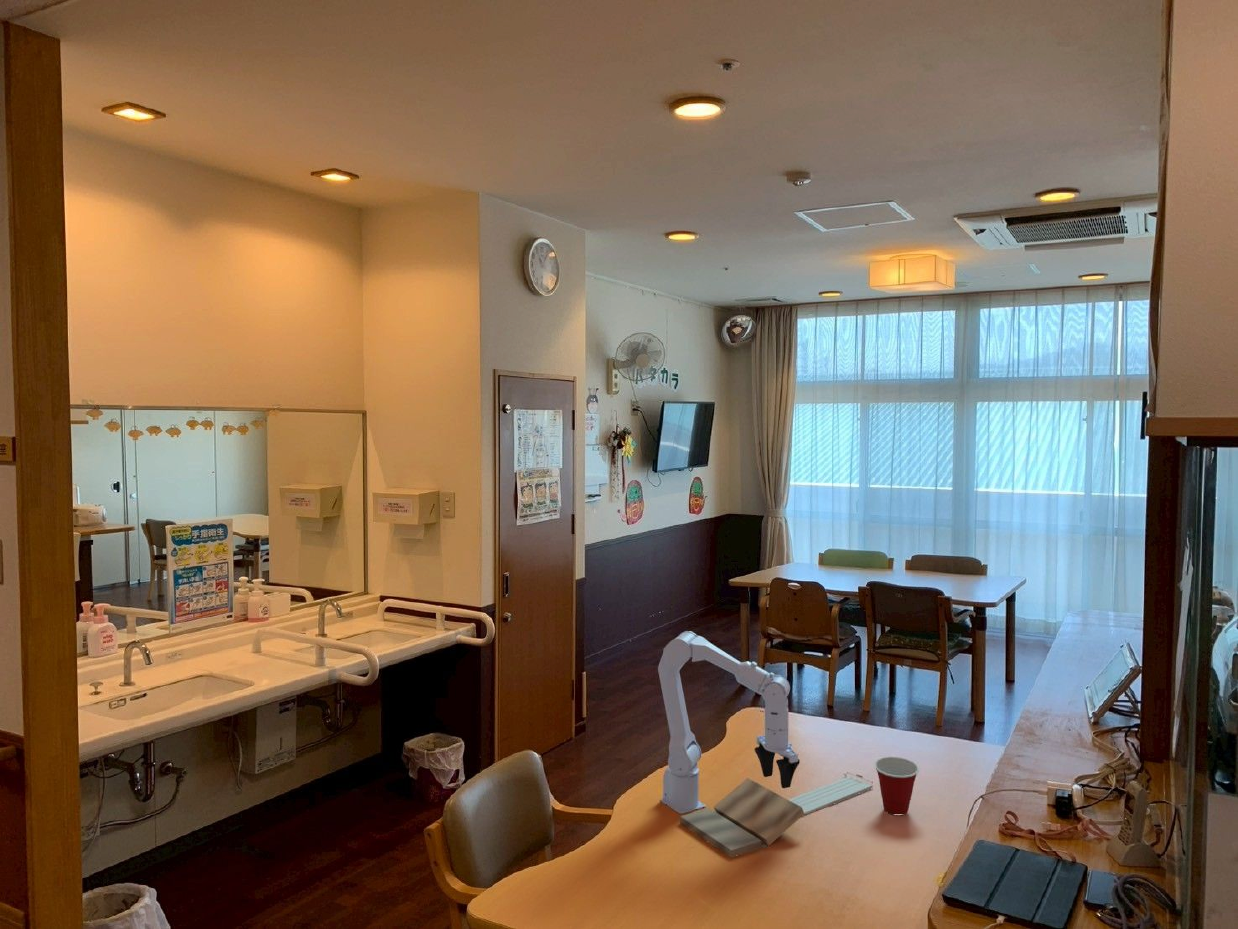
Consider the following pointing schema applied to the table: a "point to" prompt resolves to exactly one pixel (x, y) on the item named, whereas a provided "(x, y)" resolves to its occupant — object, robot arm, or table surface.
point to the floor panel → (721, 832)
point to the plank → (759, 811)
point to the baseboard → (830, 794)
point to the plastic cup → (896, 783)
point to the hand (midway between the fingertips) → (776, 781)
